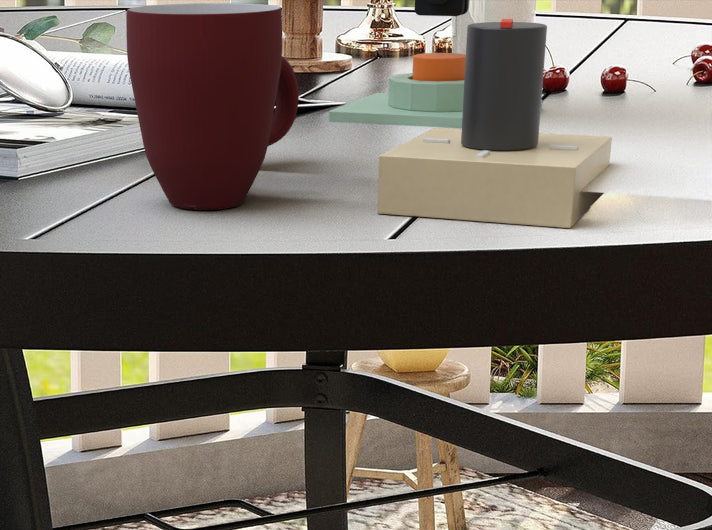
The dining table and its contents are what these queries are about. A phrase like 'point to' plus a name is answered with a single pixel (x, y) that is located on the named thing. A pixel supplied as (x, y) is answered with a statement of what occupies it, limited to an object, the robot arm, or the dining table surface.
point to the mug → (209, 96)
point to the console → (492, 179)
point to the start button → (439, 67)
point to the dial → (503, 85)
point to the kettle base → (408, 104)
